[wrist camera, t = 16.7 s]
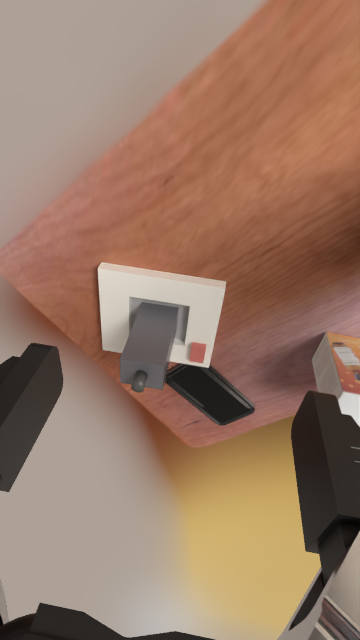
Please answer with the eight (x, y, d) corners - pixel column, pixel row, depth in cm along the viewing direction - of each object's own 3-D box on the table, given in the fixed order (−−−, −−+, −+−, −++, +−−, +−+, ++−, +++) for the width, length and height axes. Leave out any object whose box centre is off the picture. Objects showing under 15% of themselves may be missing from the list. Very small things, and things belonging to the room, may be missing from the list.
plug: (178, 307, 46) (161, 379, 36) (176, 330, 49) (159, 403, 39) (142, 301, 47) (114, 371, 36) (141, 324, 49) (115, 395, 39)
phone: (196, 356, 51) (257, 411, 56) (197, 351, 52) (257, 406, 57) (159, 378, 55) (220, 427, 60) (161, 373, 56) (220, 421, 61)
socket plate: (226, 281, 43) (225, 291, 41) (209, 360, 52) (208, 371, 50) (101, 262, 44) (95, 271, 42) (106, 342, 53) (101, 353, 51)
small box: (385, 341, 45) (417, 405, 37) (366, 370, 49) (391, 434, 41) (325, 330, 46) (343, 391, 37) (309, 359, 49) (323, 421, 41)
